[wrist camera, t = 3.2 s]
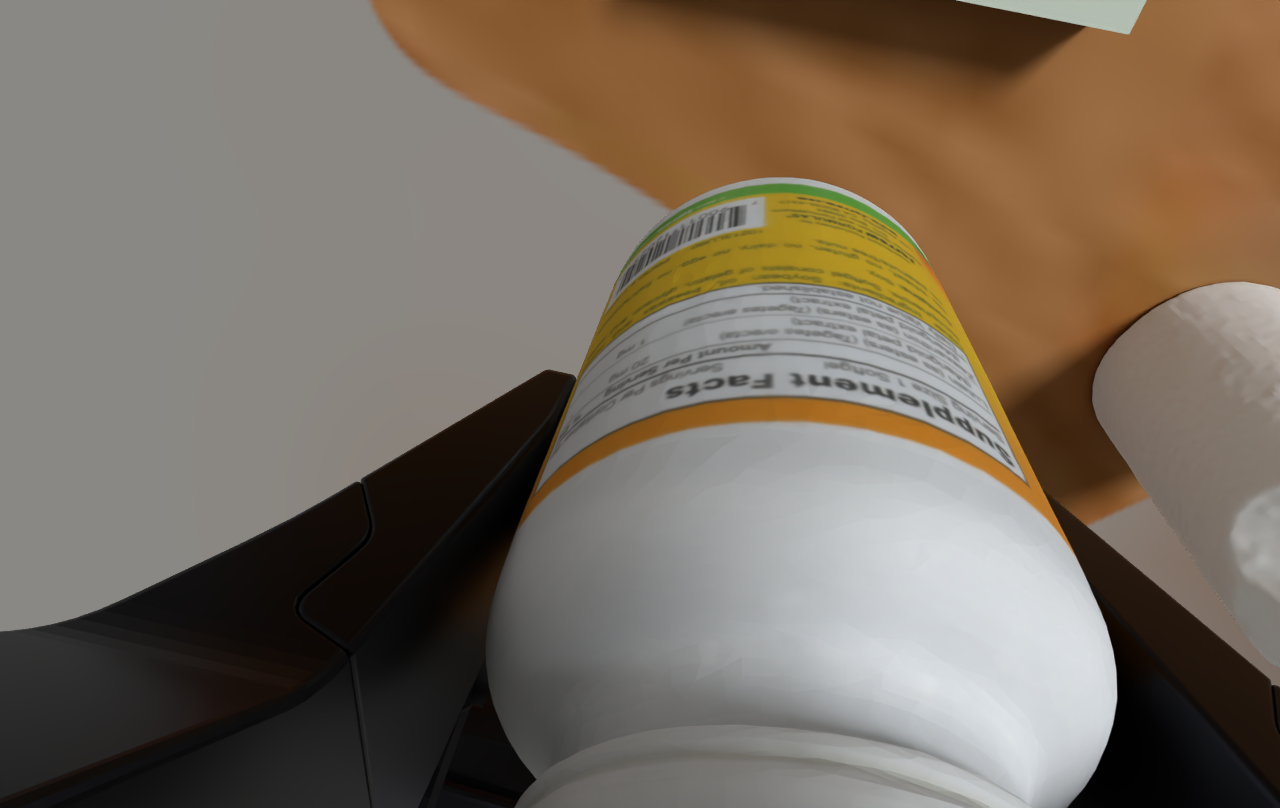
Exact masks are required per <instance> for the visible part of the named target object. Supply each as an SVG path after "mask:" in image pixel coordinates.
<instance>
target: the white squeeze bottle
mask: <svg viewBox="0 0 1280 808" xmlns="http://www.w3.org/2000/svg"><path fill="white" fill-rule="evenodd" d="M1092 402H1093V407H1094V410H1095V413H1096V417H1097V419H1098V421H1099V423H1100V424H1101V426H1102V427H1103V429H1104V430H1105V432H1106V434H1107V435H1108V437H1109V438H1110V440H1111V441H1112V443H1113V444H1114V445H1115V447H1116V448H1117V450H1118V452H1119V453H1120V454H1121V456H1122V457H1123V458H1124V460H1125V461H1126V462H1127V464H1128V466H1129V467H1130V469H1131V470H1132V472H1133V474H1134V475H1135V477H1136V479H1137V480H1138V482H1139V483H1140V485H1141V486H1142V488H1143V489H1144V490H1145V492H1146V493H1147V494H1148V495H1149V497H1150V498H1151V499H1152V501H1153V502H1154V504H1155V505H1156V507H1157V508H1158V509H1159V511H1160V513H1161V514H1162V516H1163V517H1164V518H1165V520H1166V522H1167V524H1168V525H1169V526H1170V527H1171V528H1172V530H1173V531H1174V533H1175V534H1176V535H1177V537H1178V539H1179V540H1180V542H1181V544H1182V545H1183V546H1184V547H1185V549H1186V550H1187V551H1188V553H1189V554H1190V556H1191V558H1192V559H1193V561H1194V563H1195V564H1196V566H1197V567H1198V569H1199V570H1200V571H1201V573H1202V574H1203V576H1204V577H1205V579H1206V580H1207V581H1208V583H1209V585H1210V586H1211V587H1212V589H1213V590H1214V591H1215V593H1216V594H1217V595H1218V597H1219V598H1220V600H1221V601H1222V602H1223V604H1224V605H1225V607H1226V608H1227V610H1228V611H1229V613H1230V614H1231V616H1232V617H1233V618H1234V619H1235V621H1236V622H1237V624H1238V625H1239V627H1240V628H1241V630H1242V631H1243V632H1244V634H1245V635H1246V637H1247V638H1248V640H1249V641H1250V642H1251V644H1252V645H1253V646H1254V647H1255V648H1256V649H1257V651H1258V652H1259V653H1260V654H1261V655H1262V656H1263V657H1264V658H1265V659H1266V660H1268V661H1269V662H1270V663H1272V664H1274V665H1276V666H1278V667H1280V289H1277V288H1274V287H1271V286H1266V285H1261V284H1254V283H1248V282H1226V283H1217V284H1213V285H1208V286H1203V287H1198V288H1195V289H1193V290H1190V291H1187V292H1184V293H1182V294H1179V295H1178V296H1177V297H1175V298H1172V299H1170V300H1168V301H1166V302H1165V303H1163V304H1161V305H1159V306H1157V307H1156V308H1154V309H1152V310H1151V311H1150V312H1149V313H1147V314H1146V315H1144V316H1143V317H1142V318H1141V319H1139V320H1138V321H1137V322H1136V323H1134V324H1133V325H1132V326H1131V327H1130V328H1129V329H1128V330H1127V331H1126V332H1124V333H1123V334H1122V335H1121V336H1120V337H1119V338H1118V339H1117V340H1116V341H1115V343H1114V344H1113V345H1112V346H1111V347H1110V348H1109V350H1108V351H1107V353H1106V354H1105V355H1104V357H1103V358H1102V360H1101V362H1100V364H1099V366H1098V368H1097V371H1096V374H1095V378H1094V382H1093V395H1092Z"/></svg>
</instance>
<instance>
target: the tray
mask: <svg viewBox="0 0 1280 808" xmlns="http://www.w3.org/2000/svg"><path fill="white" fill-rule="evenodd" d="M958 1H963V2H968V3H973V4H978V5H983V6H988V7H993V8H998V9H1003V10H1008V11H1013V12H1018V13H1023V14H1028V15H1033V16H1038V17H1043V18H1048V19H1053V20H1058V21H1063V22H1068V23H1073V24H1078V25H1083V26H1088V27H1093V28H1098V29H1104V30H1109V31H1114V32H1119V33H1124V34H1129V33H1130V31H1131V30H1132V28H1133V26H1134V24H1135V22H1136V20H1137V18H1138V16H1139V14H1140V12H1141V10H1142V8H1143V6H1144V4H1145V2H1146V0H958Z"/></svg>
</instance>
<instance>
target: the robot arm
mask: <svg viewBox="0 0 1280 808" xmlns="http://www.w3.org/2000/svg"><path fill="white" fill-rule="evenodd" d="M575 383H576V377H575V376H574V375H571V374H567V373H562V372H558V371H553V370H545V371H543V372H541V373H540V374H538V375H536V376H535V377H533V378H531V379H529V380H528V381H526V382H525V383H523V384H521V385H519V386H518V387H516V388H514V389H512V390H511V391H509V392H507V393H506V394H504V395H502V396H501V397H499V398H497V399H495V400H494V401H493V402H491V403H489V404H487V405H486V406H484V407H482V408H480V409H479V410H477V411H475V412H473V413H472V414H470V415H468V416H467V417H465V418H463V419H462V420H460V421H458V422H457V423H455V424H453V425H451V426H450V427H448V428H446V429H445V430H443V431H441V432H440V433H438V434H436V435H435V436H433V437H431V438H429V439H428V440H426V441H424V442H423V443H421V444H420V445H418V446H416V447H414V448H413V449H411V450H409V451H407V452H406V453H404V454H402V455H401V456H399V457H397V458H396V459H394V460H392V461H391V462H389V463H387V464H385V465H384V466H382V467H380V468H379V469H377V470H375V471H374V472H372V473H370V474H368V475H367V476H365V477H363V478H362V479H361V483H360V482H354V483H353V484H351V485H350V486H348V487H346V488H344V489H343V490H341V491H339V492H338V493H336V494H334V495H332V496H331V497H329V498H327V499H325V500H324V501H322V502H320V503H318V504H317V505H315V506H313V507H311V508H309V509H307V510H306V511H304V512H302V513H300V514H298V515H297V516H295V517H293V518H291V519H289V520H287V521H285V522H283V523H281V524H279V525H277V526H275V527H273V528H271V529H269V530H267V531H265V532H263V533H261V534H259V535H257V536H255V537H253V538H251V539H249V540H247V541H245V542H243V543H241V544H239V545H237V546H235V547H233V548H230V549H229V550H226V551H224V552H222V553H220V554H218V555H216V556H214V557H212V558H209V559H207V560H205V561H203V562H201V563H199V564H197V565H195V566H193V567H190V568H188V569H186V570H184V571H182V572H180V573H178V574H175V575H173V576H171V577H169V578H167V579H165V580H163V581H161V582H159V583H156V584H155V585H152V586H151V587H148V588H146V589H144V590H142V591H140V592H137V593H136V594H133V595H131V596H129V597H127V598H125V599H123V600H120V601H118V602H116V603H113V604H111V605H109V606H107V607H104V608H102V609H100V610H97V611H94V612H91V613H88V614H85V615H83V616H80V617H77V618H74V619H70V620H67V621H63V622H59V623H55V624H51V625H46V626H41V627H35V628H29V629H22V630H13V631H2V632H0V808H514V807H515V806H516V804H517V802H518V800H519V799H520V797H521V796H522V795H523V793H524V792H525V791H526V790H527V789H528V788H529V787H530V786H531V785H532V784H533V783H534V782H535V781H536V780H537V779H536V778H535V777H534V775H533V774H532V773H531V772H530V770H529V769H528V768H527V767H526V765H525V764H524V763H523V762H522V760H521V759H520V758H519V756H518V754H517V753H516V751H515V749H514V748H513V746H512V745H511V743H510V741H509V740H508V738H507V736H506V734H505V732H504V729H503V727H502V725H501V723H500V720H499V717H498V715H497V712H496V710H495V707H494V704H493V700H492V696H491V693H490V689H489V683H488V675H487V667H486V650H485V647H486V634H487V624H488V618H489V612H490V607H491V604H492V600H493V597H494V594H495V590H496V587H497V584H498V580H499V577H500V574H501V571H502V568H503V566H504V563H505V560H506V557H507V554H508V552H509V549H510V546H511V543H512V541H513V538H514V535H515V533H516V530H517V527H518V525H519V522H520V520H521V517H522V514H523V512H524V509H525V506H526V504H527V501H528V499H529V497H530V494H531V492H532V490H533V487H534V484H535V482H536V479H537V477H538V474H539V472H540V469H541V467H542V464H543V462H544V460H545V457H546V455H547V452H548V450H549V447H550V445H551V442H552V440H553V437H554V435H555V432H556V430H557V427H558V425H559V422H560V420H561V417H562V415H563V412H564V410H565V407H566V405H567V403H568V400H569V398H570V395H571V393H572V390H573V388H574V385H575ZM1042 490H1043V489H1042ZM1043 492H1044V494H1045V496H1046V498H1047V500H1048V502H1049V504H1050V506H1051V508H1052V510H1053V512H1054V514H1055V516H1056V518H1057V520H1058V522H1059V524H1060V526H1061V528H1062V530H1063V532H1064V534H1065V536H1066V538H1067V540H1068V542H1069V544H1070V546H1071V548H1072V549H1073V551H1074V554H1075V556H1076V558H1077V560H1078V562H1079V564H1080V566H1081V568H1082V571H1083V573H1084V575H1085V577H1086V579H1087V582H1088V584H1089V586H1090V589H1091V591H1092V593H1093V596H1094V598H1095V600H1096V602H1097V604H1098V607H1099V609H1100V612H1101V614H1102V616H1103V619H1104V621H1105V623H1106V626H1107V630H1108V634H1109V637H1110V641H1111V645H1112V648H1113V653H1114V660H1115V666H1116V678H1117V702H1116V709H1115V715H1114V721H1113V726H1112V729H1111V732H1110V735H1109V739H1108V742H1107V745H1106V747H1105V749H1104V752H1103V754H1102V756H1101V758H1100V761H1099V763H1098V765H1097V768H1096V770H1095V771H1094V773H1093V775H1092V776H1091V778H1090V779H1089V781H1088V783H1087V784H1086V786H1085V787H1084V789H1083V790H1082V791H1081V792H1080V793H1079V794H1078V795H1077V797H1076V798H1075V799H1074V800H1073V801H1072V802H1071V803H1070V805H1069V806H1068V807H1067V808H1280V687H1279V686H1276V685H1271V680H1270V679H1269V678H1268V677H1267V676H1266V675H1264V674H1263V673H1262V672H1261V671H1260V670H1258V669H1257V668H1256V667H1255V666H1253V665H1252V664H1251V663H1250V662H1249V661H1248V660H1246V659H1245V658H1244V657H1243V656H1241V655H1240V654H1239V653H1238V652H1237V651H1236V650H1234V649H1233V648H1232V647H1231V646H1230V645H1228V644H1227V643H1226V642H1225V641H1224V640H1222V639H1221V638H1220V637H1219V636H1218V635H1216V634H1215V633H1214V632H1213V631H1212V630H1210V629H1209V628H1208V627H1207V626H1206V625H1204V624H1203V623H1202V622H1201V621H1200V620H1198V619H1197V618H1196V617H1195V616H1194V615H1192V614H1191V613H1190V612H1189V611H1188V610H1186V609H1185V608H1184V607H1183V606H1182V605H1180V604H1179V603H1178V602H1177V601H1176V600H1174V599H1173V598H1172V597H1171V596H1170V595H1168V594H1167V593H1166V592H1165V591H1164V590H1162V589H1161V588H1160V587H1159V586H1158V585H1156V584H1155V583H1154V582H1153V581H1152V580H1150V579H1149V578H1148V577H1147V576H1146V575H1144V574H1143V573H1142V572H1141V571H1140V570H1139V569H1137V568H1136V567H1135V566H1134V565H1133V564H1131V563H1130V562H1129V561H1128V560H1127V559H1125V558H1124V557H1123V556H1122V555H1120V554H1119V553H1118V552H1117V551H1116V550H1115V549H1113V548H1112V547H1111V546H1110V545H1109V544H1107V543H1106V542H1105V541H1104V540H1103V539H1101V538H1100V537H1099V536H1098V535H1097V534H1095V533H1094V532H1093V531H1092V530H1091V529H1089V528H1088V527H1087V526H1086V525H1085V524H1083V523H1082V522H1081V521H1080V520H1079V519H1077V518H1076V517H1075V516H1074V515H1073V514H1071V513H1070V512H1069V511H1068V510H1067V509H1065V508H1064V507H1063V506H1062V505H1061V504H1059V503H1058V502H1057V501H1056V500H1055V499H1053V498H1052V497H1051V496H1050V495H1049V494H1047V493H1046V492H1045V491H1044V490H1043Z"/></svg>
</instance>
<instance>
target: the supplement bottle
mask: <svg viewBox="0 0 1280 808" xmlns="http://www.w3.org/2000/svg"><path fill="white" fill-rule="evenodd" d="M485 650H486V667H487V675H488V683H489V689H490V693H491V696H492V700H493V704H494V707H495V710H496V712H497V715H498V717H499V720H500V723H501V725H502V727H503V729H504V732H505V734H506V736H507V738H508V740H509V741H510V743H511V745H512V746H513V748H514V749H515V751H516V753H517V754H518V756H519V758H520V759H521V760H522V762H523V763H524V764H525V765H526V767H527V768H528V769H529V770H530V772H531V773H532V774H533V775H534V777H535V778H536V779H537V780H536V781H535V782H534V783H533V784H532V785H531V786H530V787H529V788H528V789H527V790H526V791H525V792H524V793H523V795H522V796H521V797H520V799H519V800H518V802H517V804H516V806H515V807H514V808H1067V807H1068V806H1069V805H1070V803H1071V802H1072V801H1073V800H1074V799H1075V798H1076V797H1077V795H1078V794H1079V793H1080V792H1081V791H1082V790H1083V789H1084V787H1085V786H1086V784H1087V783H1088V781H1089V779H1090V778H1091V776H1092V775H1093V773H1094V771H1095V770H1096V768H1097V765H1098V763H1099V761H1100V758H1101V756H1102V754H1103V752H1104V749H1105V747H1106V745H1107V742H1108V739H1109V735H1110V732H1111V729H1112V726H1113V721H1114V715H1115V709H1116V702H1117V678H1116V666H1115V660H1114V653H1113V648H1112V645H1111V641H1110V637H1109V634H1108V630H1107V626H1106V623H1105V621H1104V619H1103V616H1102V614H1101V612H1100V609H1099V607H1098V604H1097V602H1096V600H1095V598H1094V596H1093V593H1092V591H1091V589H1090V586H1089V584H1088V582H1087V579H1086V577H1085V575H1084V573H1083V571H1082V568H1081V566H1080V564H1079V562H1078V560H1077V558H1076V556H1075V554H1074V551H1073V549H1072V548H1071V546H1070V544H1069V542H1068V540H1067V538H1066V536H1065V534H1064V532H1063V530H1062V528H1061V526H1060V524H1059V522H1058V520H1057V518H1056V516H1055V514H1054V512H1053V510H1052V508H1051V506H1050V504H1049V502H1048V500H1047V498H1046V496H1045V494H1044V492H1043V490H1042V488H1041V486H1040V484H1039V482H1038V480H1037V478H1036V476H1035V474H1034V472H1033V470H1032V468H1031V466H1030V464H1029V462H1028V460H1027V458H1026V455H1025V453H1024V451H1023V449H1022V447H1021V445H1020V443H1019V441H1018V439H1017V437H1016V435H1015V433H1014V431H1013V429H1012V427H1011V425H1010V423H1009V421H1008V418H1007V416H1006V414H1005V412H1004V410H1003V408H1002V406H1001V404H1000V402H999V400H998V398H997V396H996V394H995V392H994V390H993V388H992V386H991V384H990V382H989V380H988V378H987V376H986V374H985V372H984V370H983V368H982V366H981V364H980V362H979V360H978V358H977V356H976V354H975V352H974V350H973V348H972V346H971V344H970V342H969V340H968V338H967V336H966V334H965V332H964V330H963V328H962V326H961V324H960V322H959V320H958V318H957V316H956V314H955V312H954V310H953V308H952V306H951V304H950V302H949V300H948V298H947V295H946V293H945V291H944V289H943V287H942V285H941V284H940V282H939V280H938V278H937V276H936V274H935V272H934V270H933V268H932V267H931V265H930V263H929V262H928V260H927V258H926V256H925V255H924V253H923V252H922V250H921V249H920V248H919V246H918V245H917V243H916V242H915V241H914V239H913V238H912V237H911V235H910V234H909V233H908V232H907V231H906V230H905V229H904V228H903V227H902V226H901V225H900V224H899V223H898V222H897V221H896V220H895V219H893V218H892V217H891V216H890V215H888V214H887V213H886V212H884V211H883V210H882V209H880V208H879V207H877V206H875V205H874V204H872V203H871V202H869V201H868V200H866V199H864V198H862V197H860V196H858V195H856V194H854V193H852V192H849V191H847V190H844V189H842V188H839V187H836V186H833V185H830V184H826V183H823V182H819V181H814V180H808V179H800V178H761V179H753V180H748V181H742V182H737V183H734V184H730V185H726V186H723V187H720V188H717V189H714V190H711V191H709V192H706V193H704V194H702V195H699V196H697V197H695V198H694V199H692V200H690V201H688V202H686V203H684V204H683V205H681V206H680V207H678V208H676V209H675V210H674V211H672V212H671V213H670V214H668V215H667V216H666V217H665V218H663V219H662V220H661V221H660V222H659V223H658V224H657V225H655V226H654V227H653V228H652V229H651V230H650V231H649V232H648V234H647V235H646V236H645V237H644V238H643V239H642V241H641V242H640V243H639V244H638V245H637V246H636V248H635V249H634V251H633V252H632V254H631V255H630V257H629V259H628V261H627V262H626V264H625V266H624V267H623V269H622V271H621V273H620V275H619V277H618V279H617V281H616V283H615V285H614V287H613V290H612V292H611V295H610V297H609V300H608V302H607V305H606V307H605V309H604V312H603V314H602V317H601V319H600V322H599V325H598V327H597V330H596V332H595V335H594V337H593V340H592V343H591V345H590V348H589V350H588V353H587V355H586V358H585V360H584V363H583V365H582V368H581V370H580V373H579V375H578V378H577V380H576V383H575V385H574V388H573V390H572V393H571V395H570V398H569V400H568V403H567V405H566V407H565V410H564V412H563V415H562V417H561V420H560V422H559V425H558V427H557V430H556V432H555V435H554V437H553V440H552V442H551V445H550V447H549V450H548V452H547V455H546V457H545V460H544V462H543V464H542V467H541V469H540V472H539V474H538V477H537V479H536V482H535V484H534V487H533V490H532V492H531V494H530V497H529V499H528V501H527V504H526V506H525V509H524V512H523V514H522V517H521V520H520V522H519V525H518V527H517V530H516V533H515V535H514V538H513V541H512V543H511V546H510V549H509V552H508V554H507V557H506V560H505V563H504V566H503V568H502V571H501V574H500V577H499V580H498V584H497V587H496V590H495V594H494V597H493V600H492V604H491V607H490V612H489V618H488V624H487V634H486V647H485Z"/></svg>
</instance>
